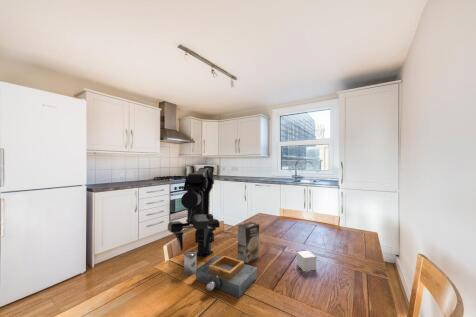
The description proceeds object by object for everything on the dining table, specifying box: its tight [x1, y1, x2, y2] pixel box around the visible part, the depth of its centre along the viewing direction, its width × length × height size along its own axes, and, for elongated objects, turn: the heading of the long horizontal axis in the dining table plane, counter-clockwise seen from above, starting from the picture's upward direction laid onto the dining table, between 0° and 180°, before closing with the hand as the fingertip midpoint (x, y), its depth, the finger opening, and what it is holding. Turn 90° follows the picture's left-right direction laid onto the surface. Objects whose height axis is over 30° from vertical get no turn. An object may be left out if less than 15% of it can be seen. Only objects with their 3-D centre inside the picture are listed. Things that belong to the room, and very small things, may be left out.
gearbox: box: [195, 255, 258, 298], centre depth 77 cm, size 18×20×6 cm
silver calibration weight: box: [183, 251, 198, 276], centre depth 84 cm, size 5×6×9 cm
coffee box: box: [236, 221, 260, 264], centre depth 97 cm, size 9×6×16 cm
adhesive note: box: [296, 250, 317, 272], centre depth 88 cm, size 6×6×6 cm
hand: (193, 248), depth 74 cm, fingers open, 9 cm apart
